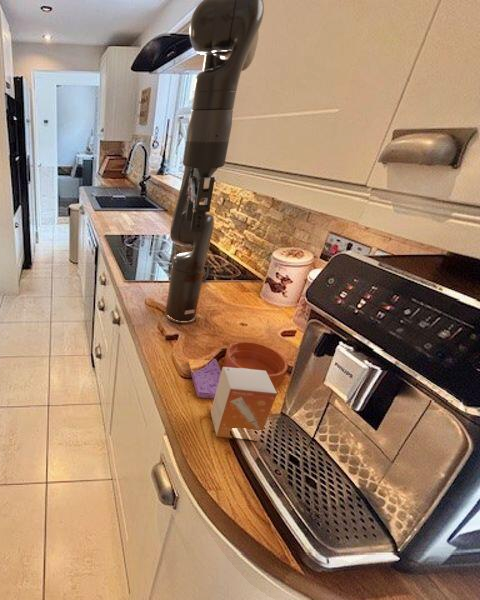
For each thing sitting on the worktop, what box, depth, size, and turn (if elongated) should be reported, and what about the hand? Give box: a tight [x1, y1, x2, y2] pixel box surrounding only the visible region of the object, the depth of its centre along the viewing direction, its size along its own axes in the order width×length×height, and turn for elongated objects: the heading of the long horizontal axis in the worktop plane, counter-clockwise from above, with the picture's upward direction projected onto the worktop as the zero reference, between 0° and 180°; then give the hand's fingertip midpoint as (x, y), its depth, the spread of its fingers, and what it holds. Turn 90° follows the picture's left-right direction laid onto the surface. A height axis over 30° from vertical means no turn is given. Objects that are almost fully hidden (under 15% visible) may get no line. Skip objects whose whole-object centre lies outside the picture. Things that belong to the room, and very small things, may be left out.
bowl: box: [222, 340, 289, 390], centre depth 79 cm, size 13×13×5 cm
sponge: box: [189, 358, 222, 399], centre depth 78 cm, size 7×13×2 cm, turn 174°
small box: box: [210, 366, 278, 439], centre depth 63 cm, size 8×6×13 cm
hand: (193, 225), depth 67 cm, fingers open, 8 cm apart
